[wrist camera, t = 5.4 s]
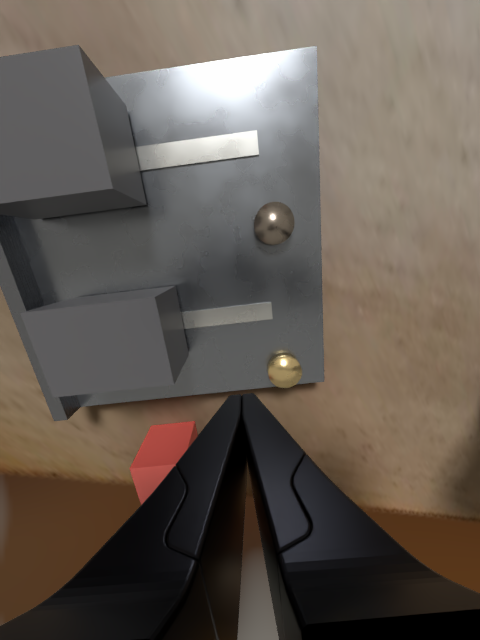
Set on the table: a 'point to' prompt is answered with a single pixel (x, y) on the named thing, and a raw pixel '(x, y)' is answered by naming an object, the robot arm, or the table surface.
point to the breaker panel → (200, 227)
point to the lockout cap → (160, 455)
